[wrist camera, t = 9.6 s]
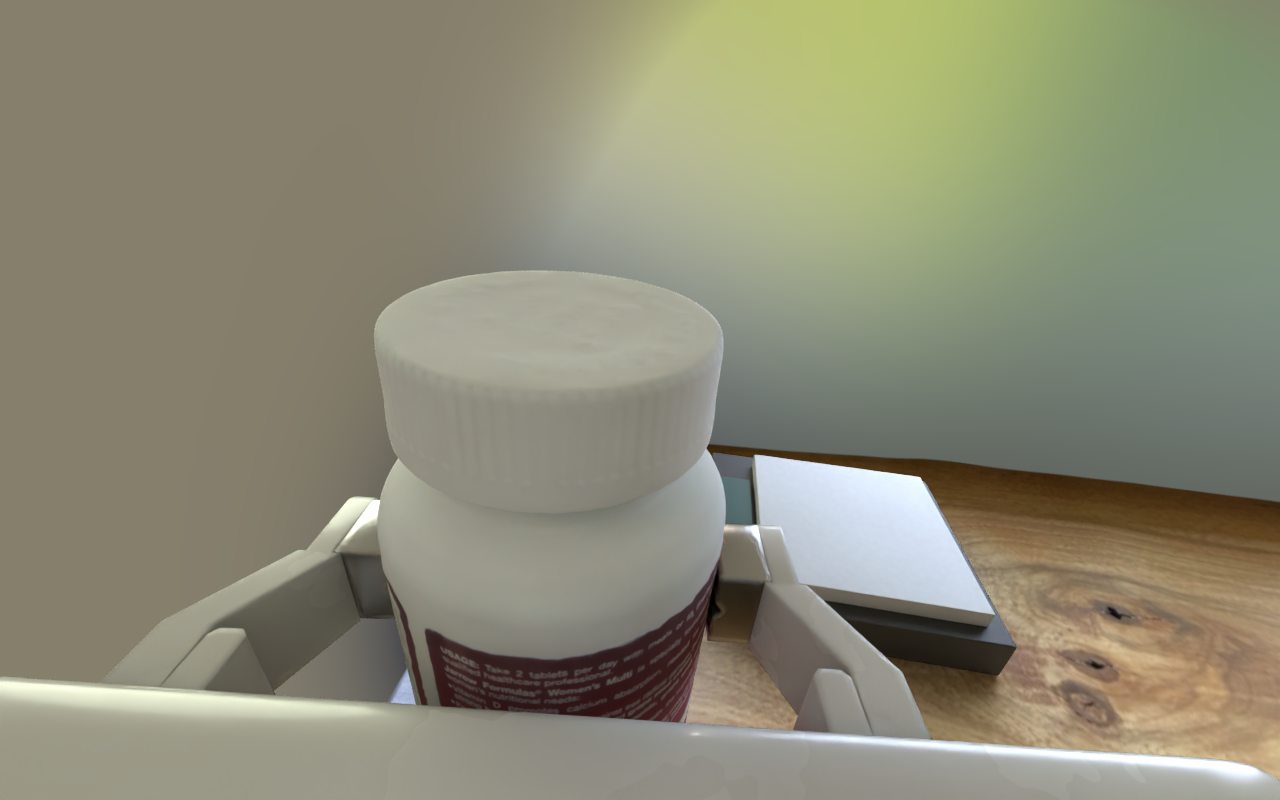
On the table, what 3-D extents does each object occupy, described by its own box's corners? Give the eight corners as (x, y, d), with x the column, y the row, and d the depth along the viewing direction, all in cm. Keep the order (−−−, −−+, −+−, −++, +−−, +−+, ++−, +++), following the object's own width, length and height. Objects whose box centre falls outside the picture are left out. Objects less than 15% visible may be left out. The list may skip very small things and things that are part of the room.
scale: (701, 624, 29) (708, 582, 27) (709, 476, 41) (714, 441, 39) (998, 676, 27) (1026, 635, 26) (914, 506, 39) (929, 470, 38)
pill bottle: (723, 722, 14) (834, 325, 8) (545, 976, 9) (530, 500, 4) (567, 592, 17) (573, 248, 12) (384, 734, 13) (255, 296, 7)
